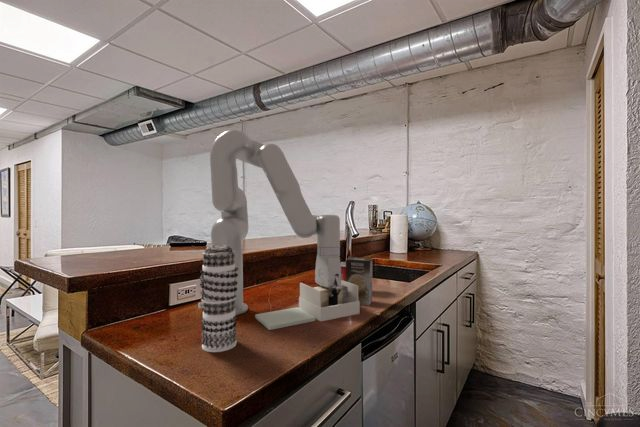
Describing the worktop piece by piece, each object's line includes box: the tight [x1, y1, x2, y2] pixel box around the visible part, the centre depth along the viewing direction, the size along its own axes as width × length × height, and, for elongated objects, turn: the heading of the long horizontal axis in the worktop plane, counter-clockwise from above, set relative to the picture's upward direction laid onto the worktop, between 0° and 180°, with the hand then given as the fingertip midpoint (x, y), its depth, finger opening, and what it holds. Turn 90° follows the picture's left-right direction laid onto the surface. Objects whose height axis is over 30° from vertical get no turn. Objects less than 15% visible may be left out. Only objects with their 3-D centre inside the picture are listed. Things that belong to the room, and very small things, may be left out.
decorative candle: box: [199, 245, 238, 353], centre depth 82 cm, size 9×9×25 cm
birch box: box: [311, 284, 348, 308], centre depth 109 cm, size 12×5×8 cm, turn 120°
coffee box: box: [345, 256, 374, 307], centre depth 119 cm, size 9×6×16 cm
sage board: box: [254, 306, 316, 331], centre depth 101 cm, size 15×12×1 cm
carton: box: [298, 279, 361, 322], centre depth 109 cm, size 15×15×9 cm
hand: (328, 305), depth 109 cm, fingers closed on birch box, 5 cm apart
